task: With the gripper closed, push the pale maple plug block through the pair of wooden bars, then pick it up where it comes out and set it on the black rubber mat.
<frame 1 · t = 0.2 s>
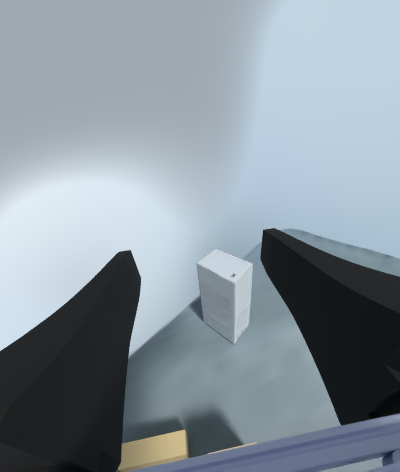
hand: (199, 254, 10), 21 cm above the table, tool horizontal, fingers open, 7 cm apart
skincare box: (225, 323, 30), on the table
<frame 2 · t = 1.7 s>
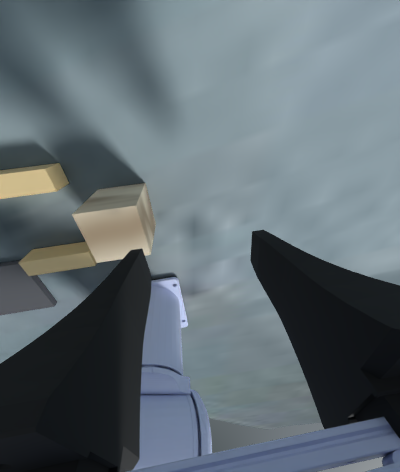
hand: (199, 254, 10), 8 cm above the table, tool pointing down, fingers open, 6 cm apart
rubber mat: (11, 287, 20), on the table
pair of wooden bars: (49, 219, 17), on the table
plug block: (128, 207, 17), on the table
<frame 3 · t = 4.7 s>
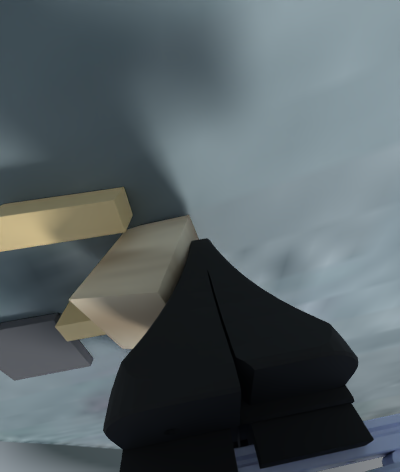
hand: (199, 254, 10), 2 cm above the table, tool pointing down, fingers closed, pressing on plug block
rubber mat: (36, 345, 15), on the table
pair of wooden bars: (97, 262, 12), on the table
plug block: (170, 248, 12), on the table, tilted 17°, touching gripper
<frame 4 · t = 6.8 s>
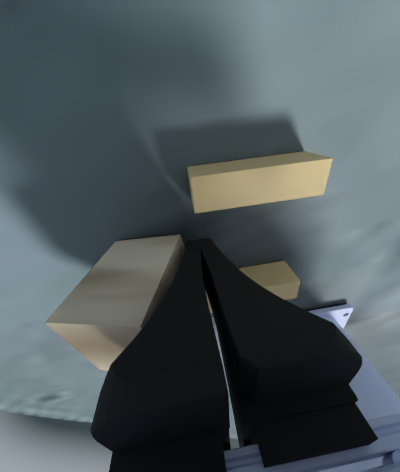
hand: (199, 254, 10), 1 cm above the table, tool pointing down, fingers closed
pair of wooden bars: (244, 233, 12), on the table
plug block: (158, 264, 12), point 1 cm above the table, tilted 17°, touching gripper
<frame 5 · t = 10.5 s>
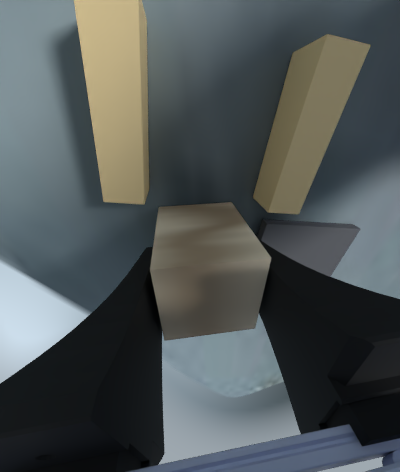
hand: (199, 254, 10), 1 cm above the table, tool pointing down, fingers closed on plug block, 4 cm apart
rubber mat: (291, 261, 14), on the table
pair of wooden bars: (212, 129, 9), on the table
plug block: (196, 235, 11), on the table, touching gripper
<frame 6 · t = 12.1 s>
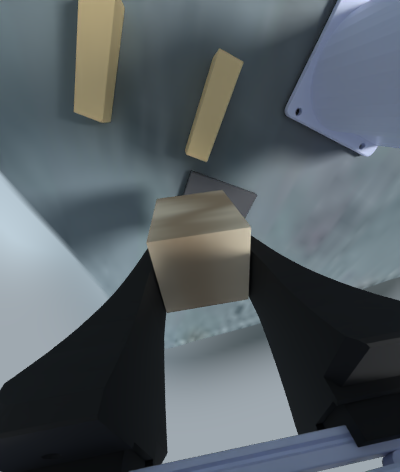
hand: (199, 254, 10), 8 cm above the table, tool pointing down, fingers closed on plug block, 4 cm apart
rubber mat: (211, 213, 19), on the table
pair of wooden bars: (159, 91, 13), on the table
plug block: (193, 223, 12), point 6 cm above the table, touching gripper
when the fingers open (3 cm above the table, at t = 13.9 s): plug block stays where it is, resting on rubber mat.
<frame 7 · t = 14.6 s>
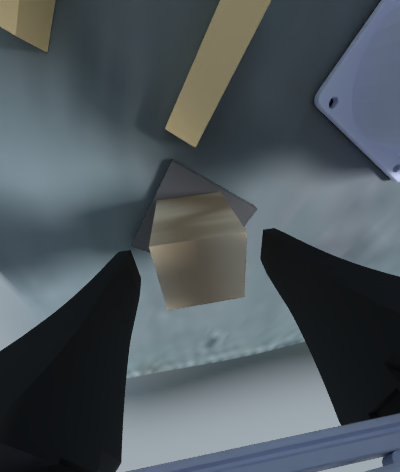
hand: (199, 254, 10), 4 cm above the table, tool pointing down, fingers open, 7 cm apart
rubber mat: (192, 223, 14), on the table
pair of wooden bars: (135, 18, 8), on the table
plug block: (192, 224, 13), point 1 cm above the table, touching rubber mat
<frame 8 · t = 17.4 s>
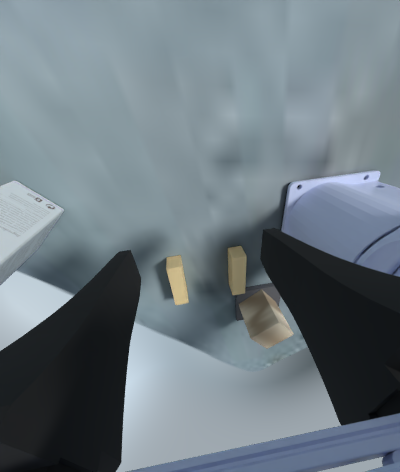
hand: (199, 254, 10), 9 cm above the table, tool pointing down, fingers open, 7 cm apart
rubber mat: (256, 300, 28), on the table
pair of wooden bars: (206, 270, 24), on the table
skincare box: (28, 216, 18), on the table
plug block: (257, 303, 28), point 1 cm above the table, touching rubber mat
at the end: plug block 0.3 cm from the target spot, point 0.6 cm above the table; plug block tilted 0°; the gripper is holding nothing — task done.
